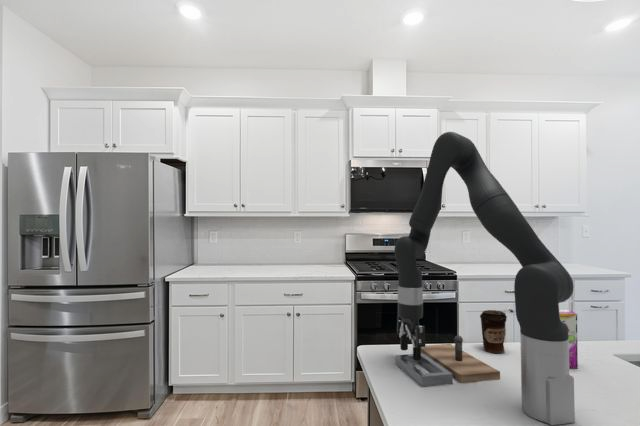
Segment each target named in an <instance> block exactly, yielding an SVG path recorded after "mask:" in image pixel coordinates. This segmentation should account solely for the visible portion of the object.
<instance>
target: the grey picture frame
mask: <svg viewBox="0 0 640 426" xmlns="http://www.w3.org/2000/svg"><path fill="white" fill-rule="evenodd" d="M395 365H396V366H397V367H398V368H400V370H402V371H403V372H404V373H405V374H406V375H407V376H408V377H410V378H411V379H412V380H413V381H414V382H416V383H417V385H419V386H420V387H421V388H425V387H435V386H444V385H453V382H454V381H453V379H454V378H453V374H452V373H451V372H449V371H448V370H446V369H445V368H443V367H442V366H440V365H439V364H438V363H436V362H435V361H433V360H432V359H430V358H429V357H428V356H426V355H425V354H423V353H421V359H420V360H414V359H413V353H408V354H398V355H397V354H395ZM415 365H421V366H422V367H424V368H425V369H426V370H428V371H429V373H424V372H422V371H421V370H420V369H419V368H417V366H415Z"/></svg>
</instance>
